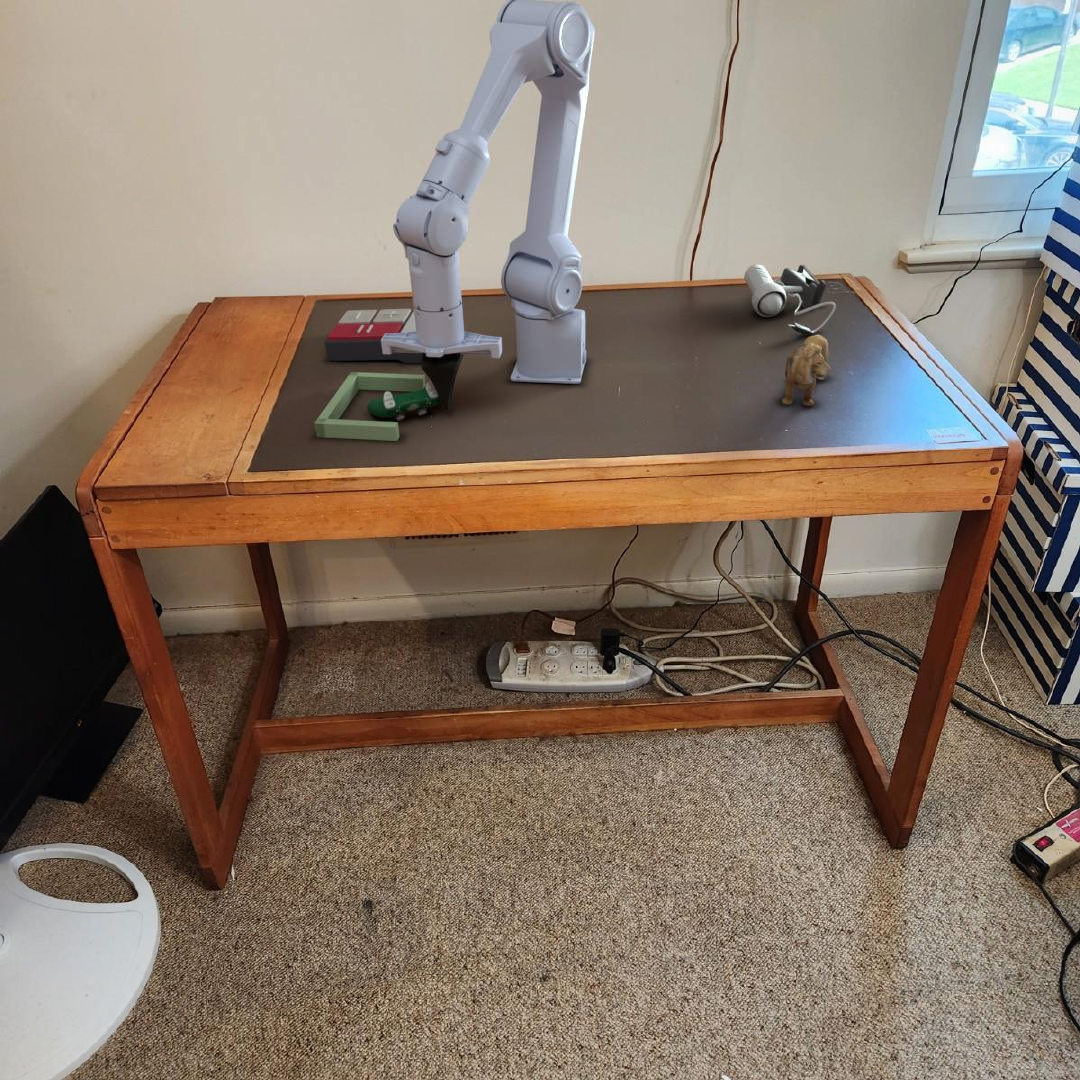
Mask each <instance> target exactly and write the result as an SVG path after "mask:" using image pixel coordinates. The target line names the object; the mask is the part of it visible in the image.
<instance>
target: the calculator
mask: <svg viewBox="0 0 1080 1080" xmlns="http://www.w3.org/2000/svg"><path fill="white" fill-rule="evenodd" d="M413 331H416V323H415V315H414V310H411V308H388V309H387V308H386V309H383V308H382V309H380V310H378V309H357V310H356V309H355V310H354V309H353V310H352V309H351V310H346V311H345V313H344V314H343V316H342V317H341V318H340V319H339V321H338V322H337V324H336V325H335V326H334V327H333V328H332V330H331V332H330V333H329V334H328V336H327V337H326V339H325V340H324V341H323V342H324V348H325V353H326V356H327V360H328V361H329V362H352V361H353V362H355V361H357V362H358V361H400V362H401V363H403V364H421V361H422V357H423V356H422V353H401V352H392V354H383V352H382V345H381V339H382V337H383V336H384V335H385V333H404V332H413Z"/></svg>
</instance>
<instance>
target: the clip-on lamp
mask: <svg viewBox="0 0 1080 1080" xmlns="http://www.w3.org/2000/svg"><path fill="white" fill-rule="evenodd" d="M743 278H744V281H745V283H746V285H747V288H748V289H749V291H750V294H751V295H752V296H751V305H752V308H753V310H754V311H755V312H756V314H758V315H760V316H761V317H765V318H769V317H774V316H776V315H778V314H779V313H781V311H782V310H783V309H784V308H785V306H786V303H787V295H788V296H789V297H791V298H795V297H796V298H797V299H798V300H799V301H798V306H797V307H796V309H795V310H794V312H793V315H794V316H799V315H802V314H805V313H808V312H810V311H812V310H815V309H818V308H821V307H823V306H830V305H831V306H832V308H831V312H830V313H829V315H828V316H827V317H826V319H824V321H823V322H822V323H821V324H820V325H818V327H817V328H815V329H813V330H811V329H810V328H809V327H806V326H804V325H801V324H799V323H796V322H792V323H791V324H788V328H789V327H791V328H792V330H793V331H795V332H796V333H801V334H802V335H806V336H808V337H810V336H812V334H814V333H816V332H818V331H819V330H821V329H822V328H823V327H824V326H825V325H826V324H827V323H828V321H829V320H830V319H831V318H832V316H833V314H834V312H835V311H836V308H837V305H836V302H833V301H825V302H821V300H822V298H823V296H824V293H825V289H826V287H827V282H826V281H825V280H824V279H821V280H818V279H817V278H816V276H815V275H813V273H812V272H811V271H810V270H809V269H808V268H807V266H806V265H805V264H800V265H799V266H798V269H797V271H795V270H792V269H791V268H788V267H786V268H784V269H783V270H782V273H781V276H779V277H777V278H776V279H774V280H773V279H772V277H771V276H770V274H769V272H768V271H767V269H766V268H765V267H764V266H763V264H758V263H757V264H753V265H750V266H749V267H748V268H747V269H746V271H745V272H744V277H743ZM820 302H821V303H820ZM801 304H802V305H801ZM811 305H812V306H811ZM801 306H802V308H804V309H802V310H799V309H800V307H801ZM798 310H799V311H798Z"/></svg>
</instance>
